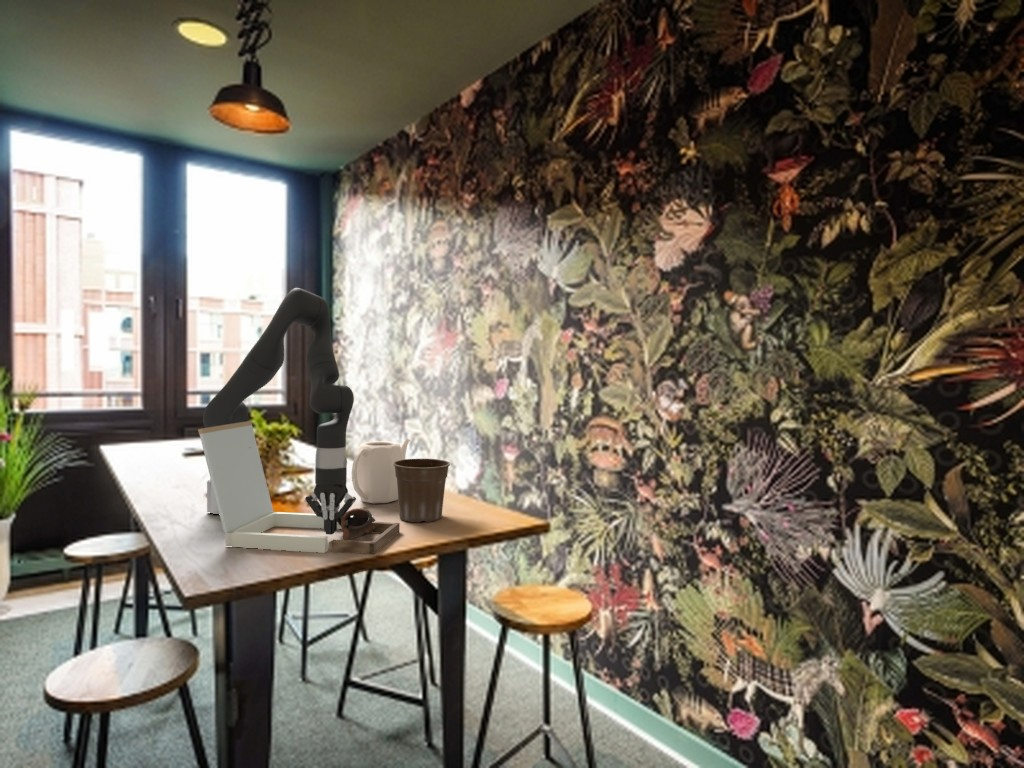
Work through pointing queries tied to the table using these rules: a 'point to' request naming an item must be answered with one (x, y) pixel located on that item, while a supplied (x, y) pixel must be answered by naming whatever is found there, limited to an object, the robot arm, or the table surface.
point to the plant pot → (421, 488)
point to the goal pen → (366, 546)
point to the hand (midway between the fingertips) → (330, 533)
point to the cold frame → (251, 494)
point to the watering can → (377, 470)
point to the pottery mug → (356, 523)
